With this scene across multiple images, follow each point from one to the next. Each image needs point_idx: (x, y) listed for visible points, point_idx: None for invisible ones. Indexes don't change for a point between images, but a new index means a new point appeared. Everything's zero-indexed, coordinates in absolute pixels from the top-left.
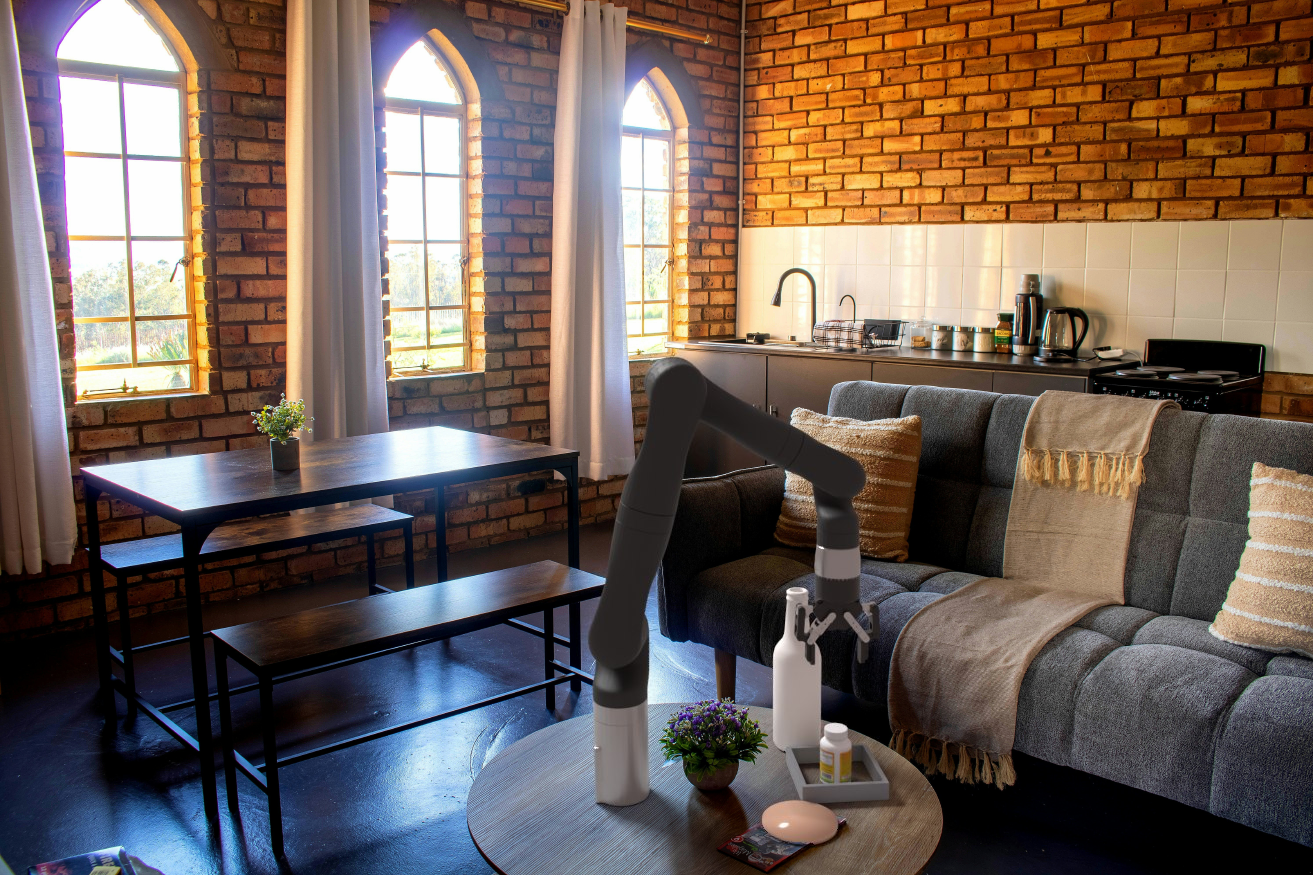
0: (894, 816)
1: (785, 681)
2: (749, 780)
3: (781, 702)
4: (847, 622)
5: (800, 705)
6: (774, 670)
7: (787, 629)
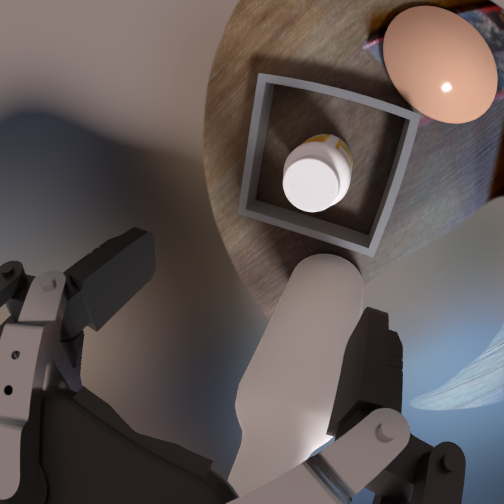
0: (282, 29)
1: None
2: (453, 218)
3: None
4: (48, 425)
5: (329, 307)
6: None
7: None
